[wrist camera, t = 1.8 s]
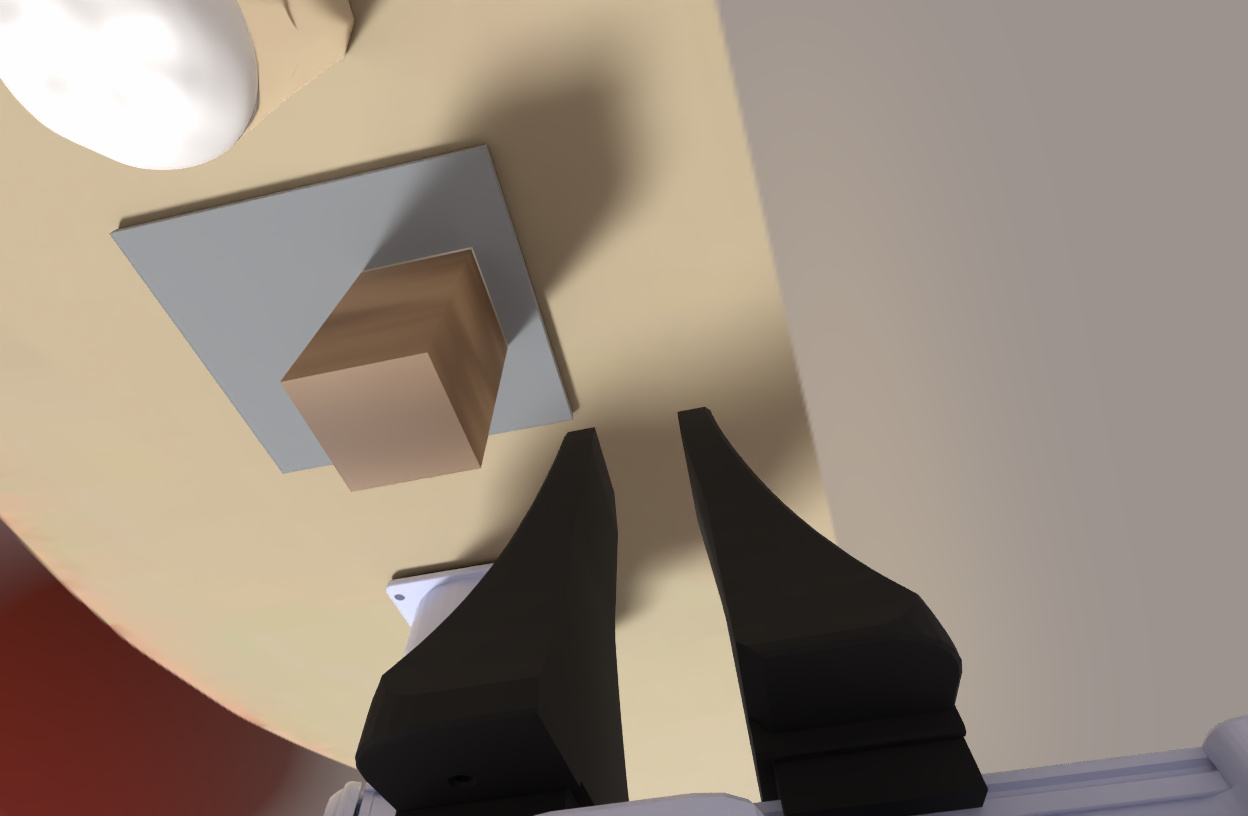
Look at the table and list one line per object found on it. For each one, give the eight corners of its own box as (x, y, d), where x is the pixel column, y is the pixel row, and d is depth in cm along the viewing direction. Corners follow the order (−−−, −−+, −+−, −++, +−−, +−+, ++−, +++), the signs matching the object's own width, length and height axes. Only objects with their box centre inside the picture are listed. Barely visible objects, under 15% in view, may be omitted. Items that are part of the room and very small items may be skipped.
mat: (572, 413, 26) (572, 419, 26) (286, 467, 27) (282, 473, 27) (486, 143, 20) (485, 146, 19) (116, 229, 21) (109, 233, 20)
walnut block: (508, 345, 24) (480, 468, 18) (408, 365, 24) (351, 491, 18) (472, 247, 21) (427, 352, 16) (362, 270, 22) (279, 381, 16)
